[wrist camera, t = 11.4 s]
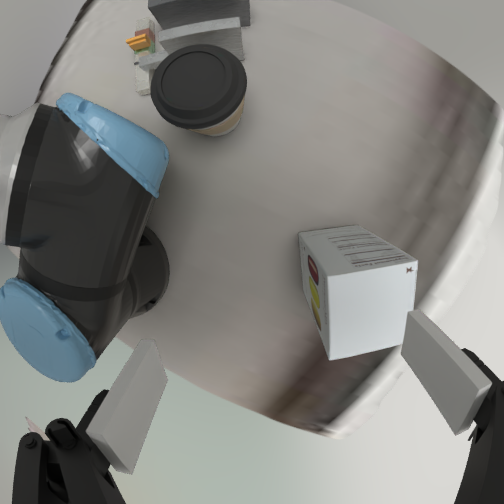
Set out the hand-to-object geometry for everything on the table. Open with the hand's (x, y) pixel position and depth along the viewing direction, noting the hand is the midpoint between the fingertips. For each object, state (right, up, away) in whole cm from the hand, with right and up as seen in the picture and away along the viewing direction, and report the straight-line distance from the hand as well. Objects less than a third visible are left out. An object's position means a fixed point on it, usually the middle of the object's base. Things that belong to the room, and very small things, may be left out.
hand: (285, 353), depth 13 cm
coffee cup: (-6, +24, +22) cm, 33 cm away
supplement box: (+10, +4, +27) cm, 29 cm away
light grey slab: (-10, +31, +19) cm, 38 cm away
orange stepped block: (-17, +33, +16) cm, 40 cm away
